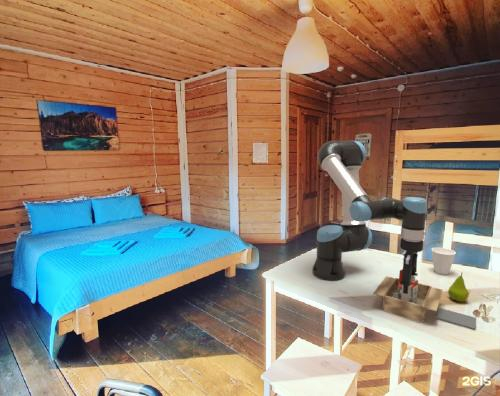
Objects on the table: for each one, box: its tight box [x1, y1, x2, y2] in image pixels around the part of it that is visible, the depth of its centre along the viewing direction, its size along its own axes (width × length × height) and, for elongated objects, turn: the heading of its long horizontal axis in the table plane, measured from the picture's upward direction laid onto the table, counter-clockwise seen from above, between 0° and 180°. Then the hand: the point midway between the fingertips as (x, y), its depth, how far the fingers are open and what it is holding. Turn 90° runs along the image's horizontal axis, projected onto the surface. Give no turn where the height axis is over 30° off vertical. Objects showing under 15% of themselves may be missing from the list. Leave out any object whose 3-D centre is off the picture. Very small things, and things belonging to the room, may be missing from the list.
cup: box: [430, 247, 457, 276], centre depth 140 cm, size 10×10×11 cm
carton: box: [372, 275, 443, 323], centre depth 112 cm, size 20×19×6 cm
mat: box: [436, 307, 477, 331], centre depth 102 cm, size 11×8×1 cm
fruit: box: [447, 272, 470, 303], centre depth 114 cm, size 6×6×12 cm
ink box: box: [397, 268, 419, 304], centre depth 111 cm, size 4×8×15 cm, turn 123°
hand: (407, 295), depth 111 cm, fingers closed on ink box, 8 cm apart
